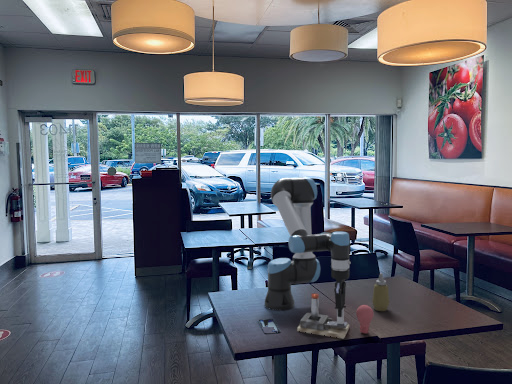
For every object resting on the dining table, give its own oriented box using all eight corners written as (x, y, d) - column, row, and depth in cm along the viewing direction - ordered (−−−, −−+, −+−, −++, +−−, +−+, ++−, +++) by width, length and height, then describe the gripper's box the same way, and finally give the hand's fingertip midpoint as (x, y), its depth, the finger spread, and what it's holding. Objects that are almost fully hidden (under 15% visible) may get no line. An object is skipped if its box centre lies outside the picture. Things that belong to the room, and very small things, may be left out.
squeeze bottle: (390, 313, 197) (390, 276, 196) (372, 311, 199) (373, 275, 197) (388, 307, 205) (388, 271, 204) (371, 306, 207) (372, 270, 205)
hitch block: (297, 331, 177) (297, 321, 177) (305, 321, 188) (305, 311, 188) (343, 338, 169) (344, 328, 169) (349, 327, 180) (349, 317, 180)
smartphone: (264, 333, 174) (257, 319, 189) (264, 335, 174) (257, 321, 189) (281, 332, 175) (273, 318, 190) (281, 334, 176) (273, 320, 190)
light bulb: (370, 329, 178) (370, 302, 177) (375, 336, 171) (376, 308, 170) (354, 329, 178) (354, 302, 177) (358, 336, 171) (359, 308, 170)
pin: (310, 325, 179) (310, 295, 178) (311, 322, 182) (312, 292, 181) (317, 326, 178) (317, 295, 177) (319, 323, 181) (319, 293, 180)
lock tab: (325, 327, 175) (324, 324, 175) (328, 323, 180) (327, 320, 180) (345, 329, 172) (345, 325, 172) (347, 324, 177) (347, 321, 177)
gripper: (346, 273, 166) (346, 330, 168) (352, 265, 178) (352, 319, 180) (327, 271, 169) (328, 327, 171) (334, 264, 181) (335, 316, 183)
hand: (340, 323), depth 175 cm, fingers closed
